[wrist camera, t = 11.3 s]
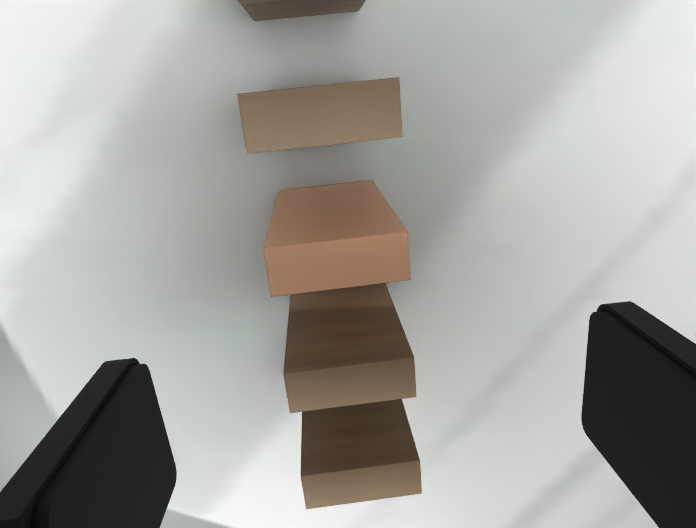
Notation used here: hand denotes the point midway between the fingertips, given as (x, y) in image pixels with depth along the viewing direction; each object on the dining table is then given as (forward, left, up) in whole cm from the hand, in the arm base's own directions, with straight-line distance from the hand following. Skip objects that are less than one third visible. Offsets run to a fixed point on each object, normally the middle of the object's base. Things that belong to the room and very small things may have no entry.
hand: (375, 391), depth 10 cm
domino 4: (+5, 0, -17) cm, 18 cm away
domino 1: (-10, 0, -17) cm, 20 cm away
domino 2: (-5, 0, -17) cm, 18 cm away
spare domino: (0, 0, -17) cm, 17 cm away
